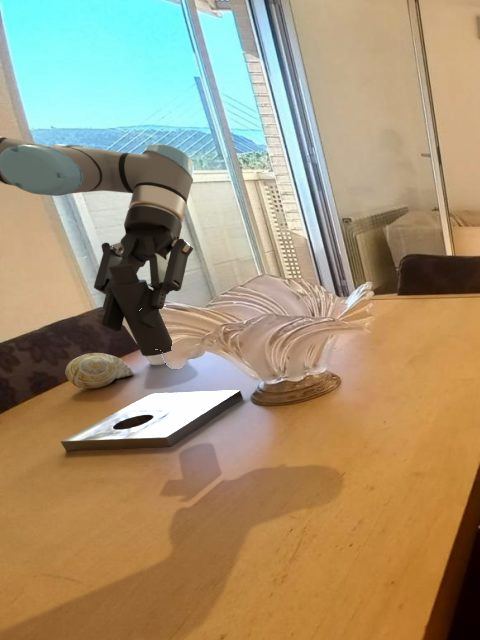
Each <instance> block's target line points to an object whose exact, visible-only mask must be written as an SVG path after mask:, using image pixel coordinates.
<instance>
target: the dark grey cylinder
mask: <svg viewBox="0 0 480 640" xmlns="http://www.w3.org/2000/svg"><path fill="white" fill-rule="evenodd" d="M108 268H109V270H110V272H111V275H112V277H113V279H114V281H115V283H114V284H111V285H110V287H111V289H112V292H113V294H114V296H115V298H116V300H117V302H118V304H119V306H120V309H121V311H122V313H123V315H124V317H125V319H126V321H127V324H128V326H129V328H130V330H131V332H132V334H133V336H134V338H135V341H136V342H135V341H134V342H135V344H136V345H137V347H138V349H139V351H140V353H141V356H143V357H145V356H154V355H159V354H163V353H167V352H170V351H172V350H171V346H172V339H171V337H170V335H169V332H168V330H167V328H166V326H165V323H164V321H163V319H162V316H161V314H160V312H158V316H157V321H156V325H155V328H148V327H146V326H145V325H143V324H141V323H139V322H137V321H138V317H139V312H140V311H139V310H140V308H141V304H142V300H143V296H144V292H145V289H149V288H150V286H149V285H148V284H149V283H148V282H147V280H146V279H140V278H139V277H138V273H137V274H136V272H135V270H134V267H133V265H132V264H121V265H114V266H110V267H108ZM155 349H158V350H155ZM160 350H161V351H160ZM162 352H163V353H162Z"/></svg>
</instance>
